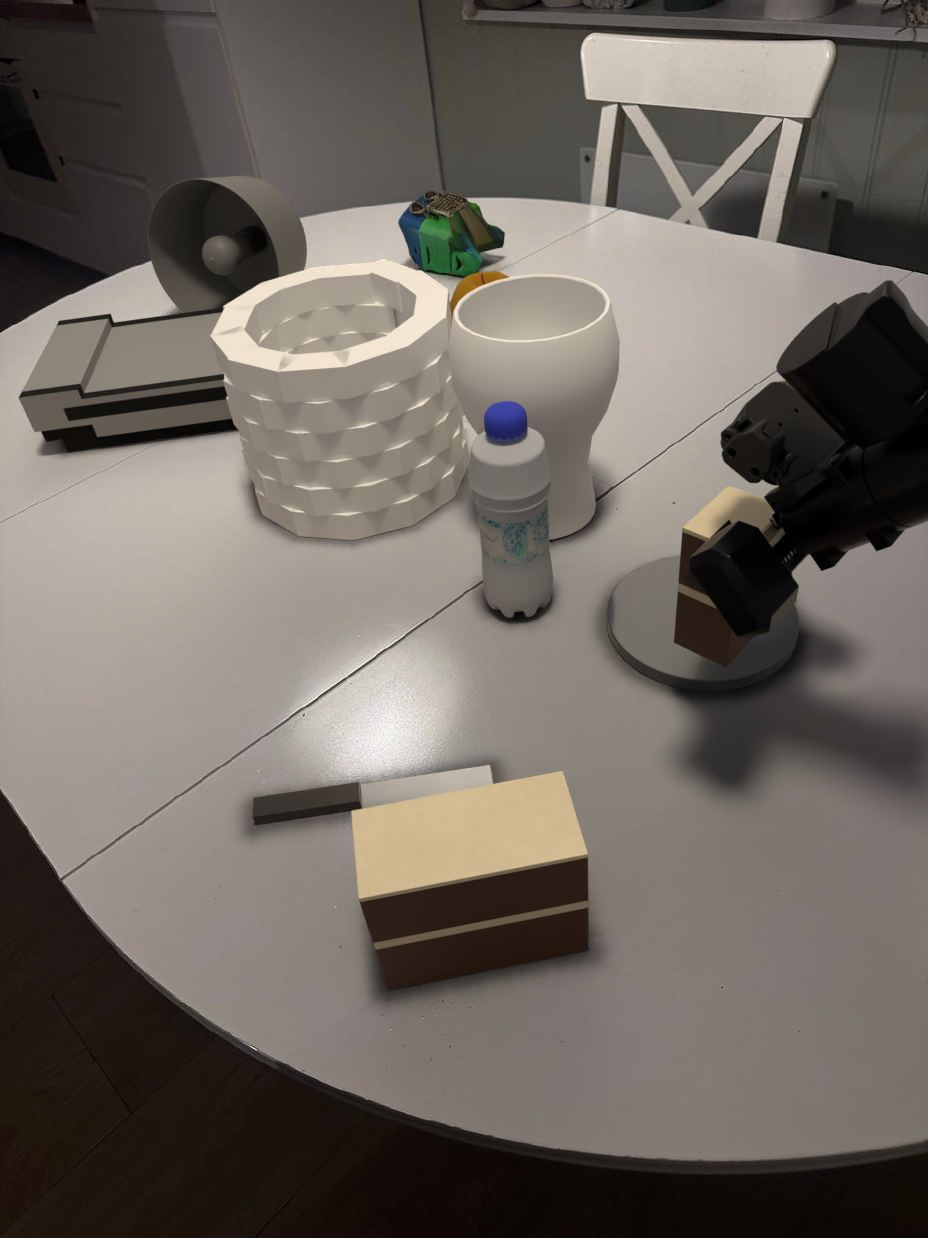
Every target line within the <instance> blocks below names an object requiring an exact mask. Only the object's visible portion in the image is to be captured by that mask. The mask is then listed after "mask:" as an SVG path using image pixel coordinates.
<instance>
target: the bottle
mask: <svg viewBox="0 0 928 1238" xmlns="http://www.w3.org/2000/svg"><path fill="white" fill-rule="evenodd" d="M484 428H485V431H484V432H482V433H481V434H479V435H478V434H477V435H476V437H474V439H473V441H472V443H471V446H470V461H469V462H470V463H469V475H468V481H469V482H468V483H469V485H470V488H471V490H470V495H471V497H472V498H471V499H473V500H472V501H474V502H475V504H476V512H477V520H478V531H479V538H480V548H481V577H482V588H483V592H484V597H485V598H486V602H487V603H488V605H489V606H490V607H491V609H493V610H497V611H498V610H500V611H501V613H502V614H503V616H504V617H506V618H514V616H515V612H516V613H517V612H523V613H524V616H525V617H527V618H529V617H532V616H534V615H535V614H536V612H537V610H538V609H539V608H544V607H547V606H548V604H549V602H550V601H551V599H552V596H553V595H552V594H553V587H554V574H553V573H554V572H553V564H552V556H551V549H550V540H549V524H548V501H547V498H548V496H549V494H550V491H551V483H550V480H551V469H550V466H549V461H548V456H547V450H546V445H545V441H544V439H543V437H542V435H541V434H540V433H539V432H537V431H536V430H534V429H531V428H529V427H528V424H527V414H526V411H525V409H524V408H523V407H522V406H521V405H520V404H518V403H516V402H511V401H503V402H498V403H495V404H493V405H491V406H490V407H489V408H488V409H487V410H486V412H485V415H484Z"/></svg>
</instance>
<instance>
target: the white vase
mask: <svg viewBox="0 0 928 1238" xmlns="http://www.w3.org/2000/svg"><path fill="white" fill-rule="evenodd" d="M620 344H621V340H620V336H619V332H618V327H617V324H616V319H615V314H614V310H613V306H612V302H611V300H610V297H609V295H608V293H607V292H606V291H605V290H604V289H603V288H602V287H601V286H600V285H598V284H595V283H593V282H591V281H589V280H587V279H583V278H579V277H576V276H573V275H563V274H557V273H556V274H554V273H533V274H524V275H514V276H509V278H505V279H501V280H497V281H494V282H491V283H488V284H485V285H483V286H480V287H478V288H476V289H475V290H473V291H471V292H469V293H468V294H466V295H465V296H464V297H463V298H462V299H461V300H460V301H459V302H458V304H457V306H456V308H455V310H454V312H453V319H452V327H451V335H450V343H449V360H450V369H451V377H452V385H453V390H454V392H455V394H456V397H457V399H458V401H459V404H460V406H461V408H462V410H463V413H464V415H463V416H464V417H465V419H466V420H467V422H468V423H469V425H470V427H471V428H472V429H473V430H474V432H475V433H476V435H477V436H478V435H479V434H481V433H482V432H484V431H485V428H484V415H485V412H486V410H487V409H488V408H489V407H490V406H491V405H493V404H495V403H498V402H503V401H511V402H516V403H518V404H520V405H521V406H522V407H523V408H524V409H525V411H526V414H527V424H528V427H529V428H531V429H534V430H536V431H537V432H539V433H540V434H541V435H542V437H543V439H544V441H545V445H546V450H547V456H548V461H549V466H550V469H551V480H550V483H551V491H550V494H549V496H548V498H547V501H548V524H549V541H550V540H557V539H560V538H563V537H567V536H569V535H572V534H574V533H575V532H578V531H580V530H582V528H584V527H585V526H586V525H587V524H588V523H590V522H591V520H592V518H593V516H594V515H595V512H596V508H597V502H596V495H595V488H594V484H593V479H592V473H591V469H590V464H589V460H590V455H591V454H590V453H591V449H592V441H593V440H592V439H593V436H594V435H595V433H596V431H597V430H598V427H599V426H600V424H601V422H602V421H603V419H604V417H605V415H606V414H607V412H608V409H609V406H610V403H611V400H612V397H613V394H614V391H615V388H616V385H617V382H618V377H619V372H620V348H621V347H620Z"/></svg>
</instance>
